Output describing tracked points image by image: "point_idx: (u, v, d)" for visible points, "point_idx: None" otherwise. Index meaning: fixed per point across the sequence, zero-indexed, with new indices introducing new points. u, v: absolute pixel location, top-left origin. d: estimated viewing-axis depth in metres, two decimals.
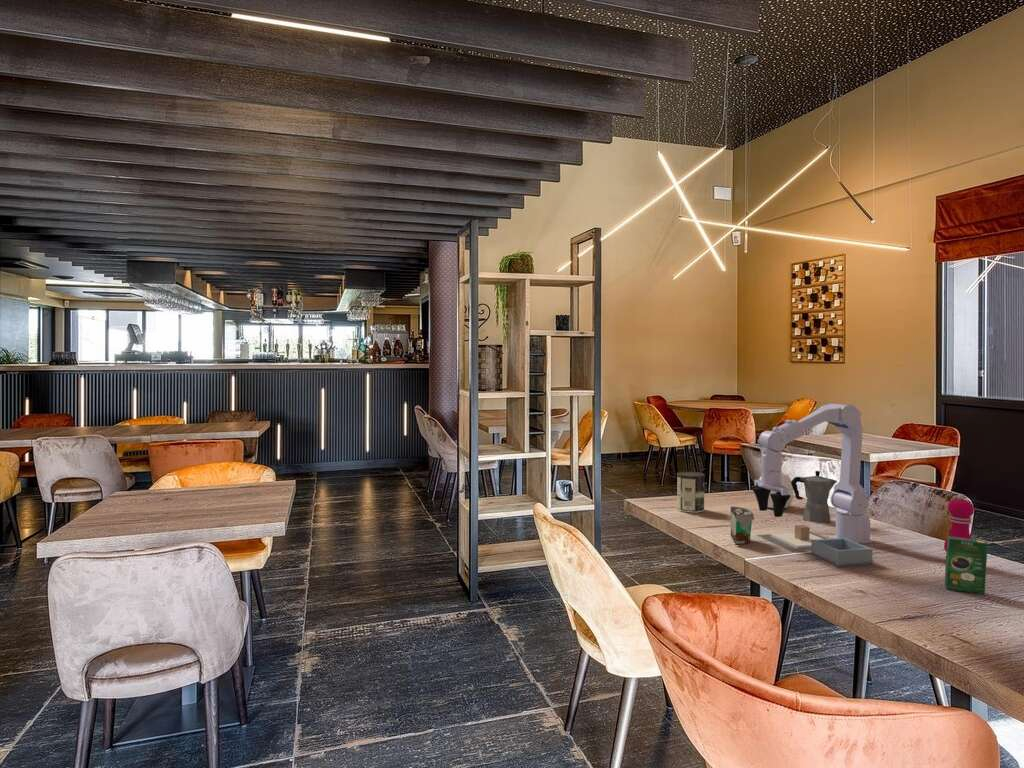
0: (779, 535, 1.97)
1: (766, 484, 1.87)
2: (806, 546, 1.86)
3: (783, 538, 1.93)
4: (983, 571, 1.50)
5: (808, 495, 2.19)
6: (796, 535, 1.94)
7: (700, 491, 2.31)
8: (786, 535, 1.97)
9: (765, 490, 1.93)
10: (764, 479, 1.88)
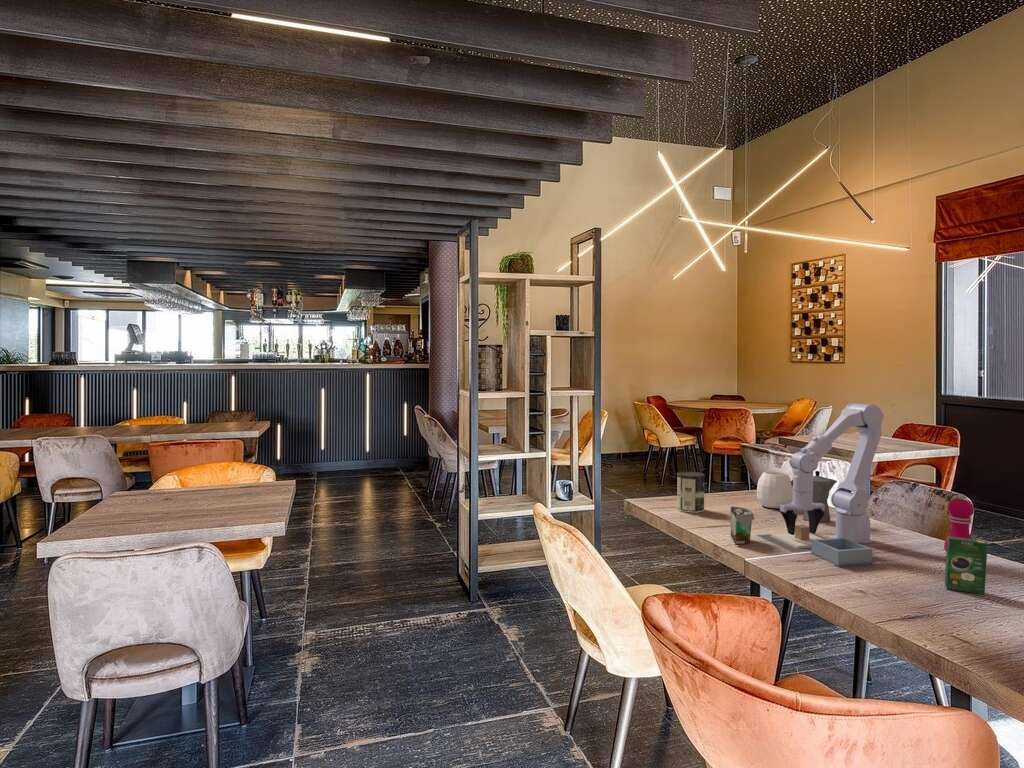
0: (779, 535, 1.97)
1: None
2: (806, 546, 1.86)
3: (783, 538, 1.93)
4: (983, 571, 1.50)
5: None
6: (796, 535, 1.94)
7: (700, 491, 2.31)
8: (786, 535, 1.97)
9: (813, 513, 1.93)
10: None
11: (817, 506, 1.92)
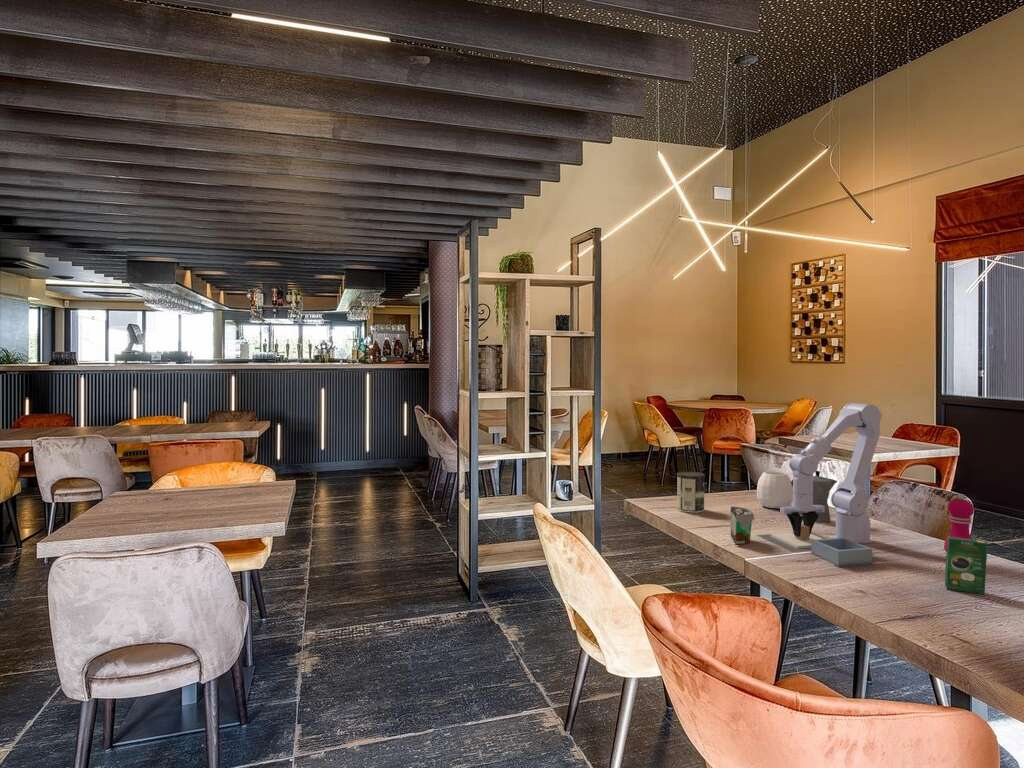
0: (779, 535, 1.97)
1: None
2: (806, 546, 1.86)
3: (783, 538, 1.93)
4: (983, 571, 1.50)
5: None
6: None
7: (700, 491, 2.31)
8: (786, 535, 1.97)
9: (808, 515, 1.93)
10: None
11: (817, 508, 1.92)
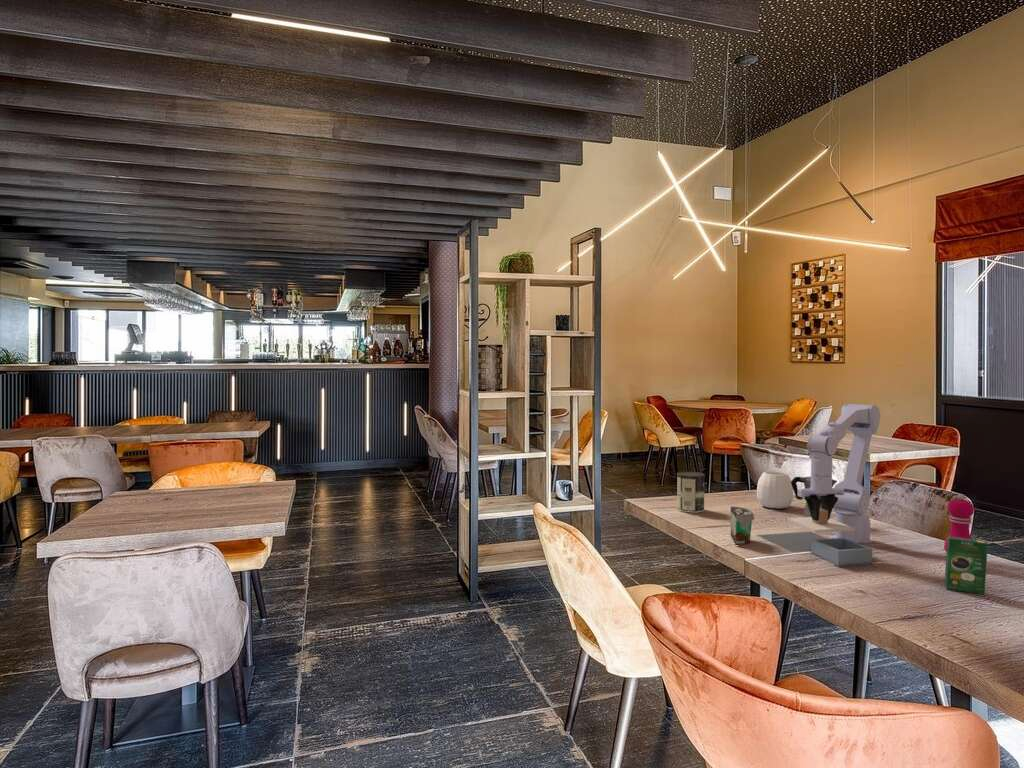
0: (796, 519, 1.89)
1: None
2: (824, 530, 1.78)
3: (800, 522, 1.85)
4: (983, 571, 1.50)
5: None
6: None
7: (700, 491, 2.31)
8: (803, 519, 1.89)
9: (827, 498, 1.84)
10: None
11: (836, 491, 1.83)
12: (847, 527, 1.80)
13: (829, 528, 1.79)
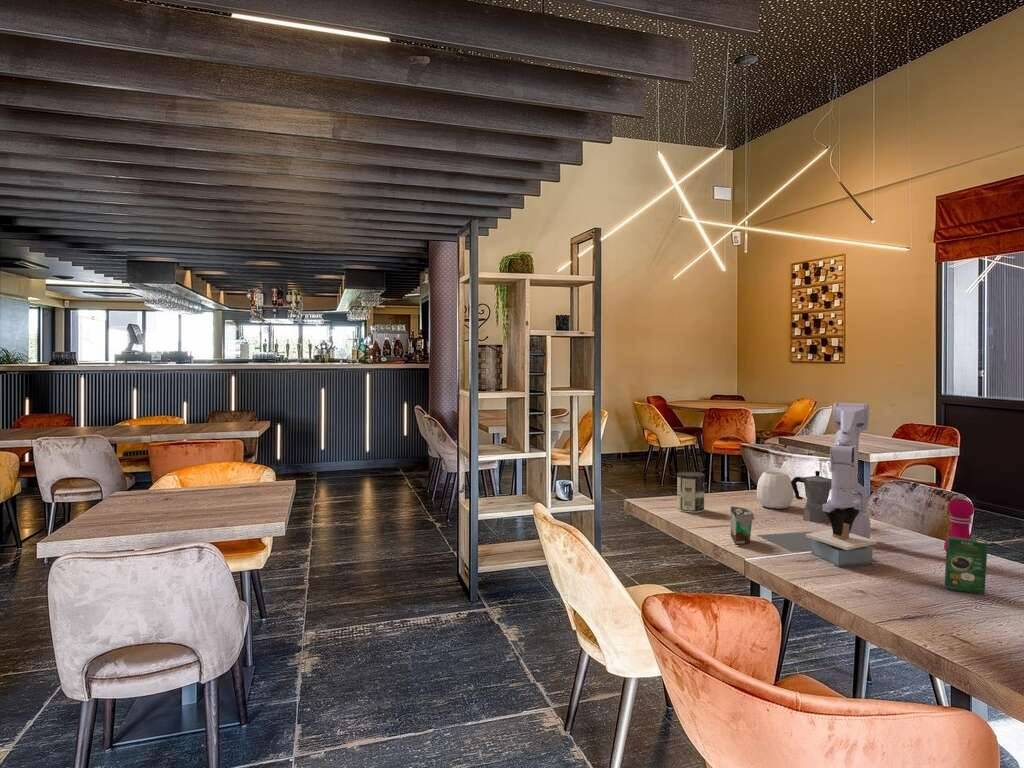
0: (815, 535, 1.78)
1: (831, 500, 1.77)
2: (854, 546, 1.69)
3: (823, 538, 1.75)
4: (983, 571, 1.50)
5: (808, 495, 2.19)
6: None
7: (700, 491, 2.31)
8: (821, 534, 1.79)
9: (847, 511, 1.76)
10: None
11: (856, 503, 1.76)
12: (870, 541, 1.74)
13: (856, 543, 1.71)
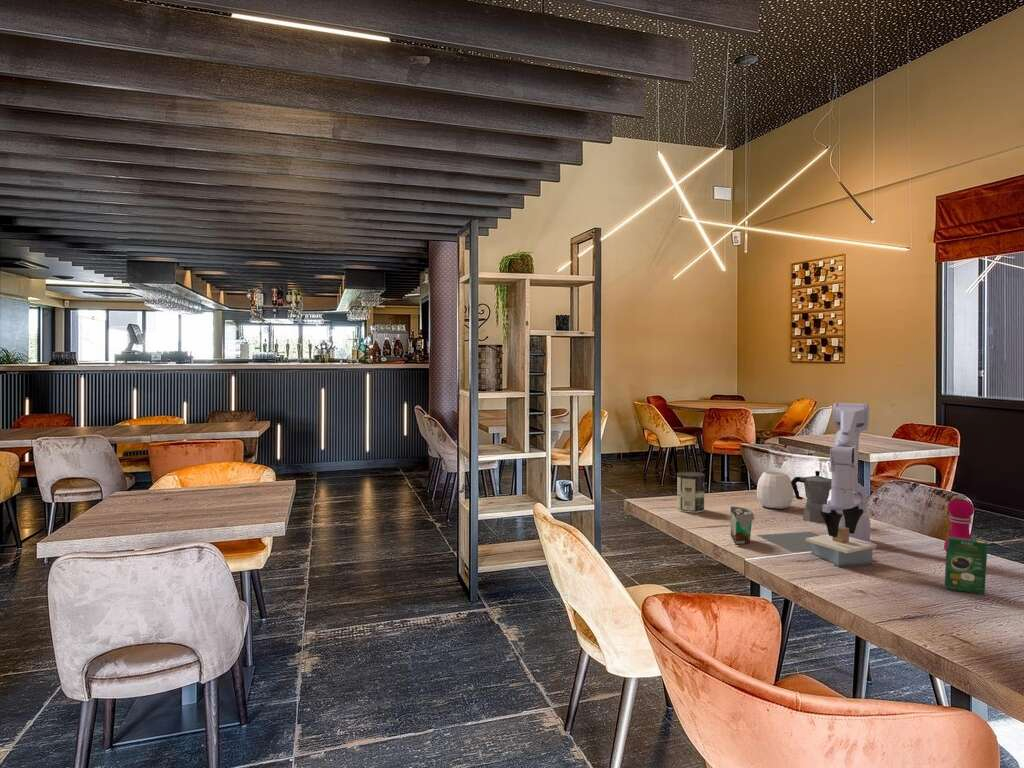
0: (815, 539, 1.79)
1: (831, 500, 1.78)
2: (854, 550, 1.69)
3: (823, 542, 1.75)
4: (983, 571, 1.50)
5: (808, 495, 2.19)
6: (834, 537, 1.77)
7: (700, 491, 2.31)
8: (821, 538, 1.79)
9: (852, 511, 1.77)
10: None
11: (856, 504, 1.76)
12: (870, 544, 1.74)
13: (856, 547, 1.71)
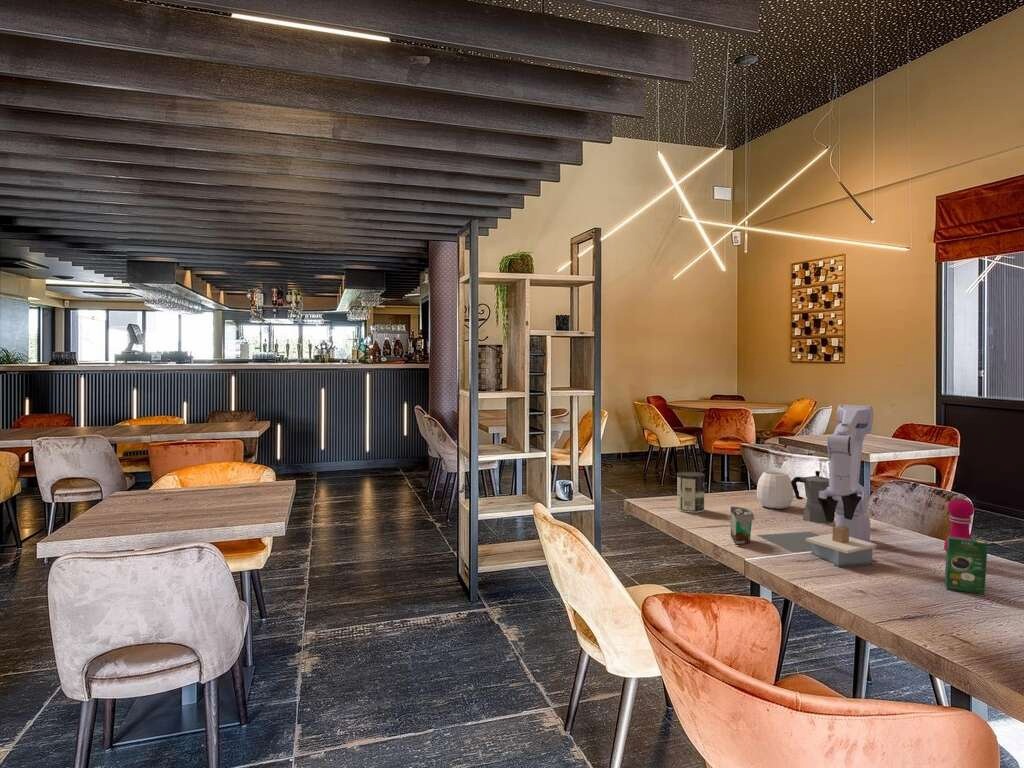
0: (815, 539, 1.79)
1: (829, 487, 1.84)
2: (854, 550, 1.69)
3: (823, 542, 1.75)
4: (983, 571, 1.50)
5: (808, 495, 2.19)
6: (834, 537, 1.77)
7: (700, 491, 2.31)
8: (821, 538, 1.79)
9: (850, 498, 1.83)
10: None
11: (854, 491, 1.82)
12: (870, 544, 1.74)
13: (856, 547, 1.71)
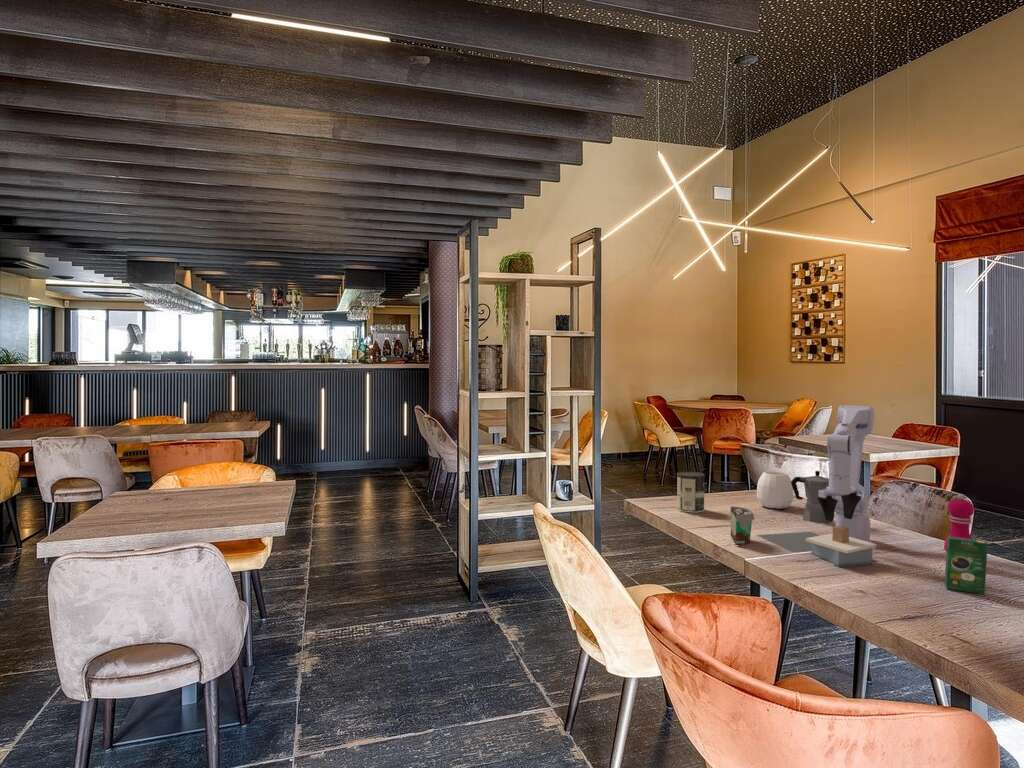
0: (815, 539, 1.79)
1: (828, 487, 1.84)
2: (854, 550, 1.69)
3: (823, 542, 1.75)
4: (983, 571, 1.50)
5: (808, 495, 2.19)
6: (834, 537, 1.77)
7: (700, 491, 2.31)
8: (821, 538, 1.79)
9: (850, 497, 1.83)
10: None
11: (854, 490, 1.82)
12: (870, 544, 1.74)
13: (856, 547, 1.71)
